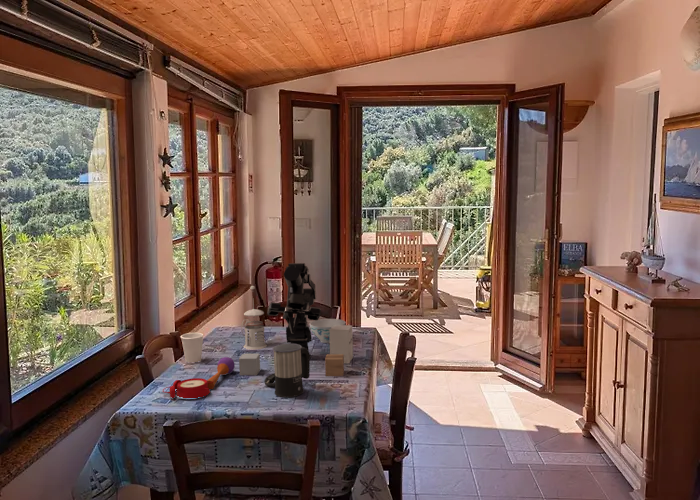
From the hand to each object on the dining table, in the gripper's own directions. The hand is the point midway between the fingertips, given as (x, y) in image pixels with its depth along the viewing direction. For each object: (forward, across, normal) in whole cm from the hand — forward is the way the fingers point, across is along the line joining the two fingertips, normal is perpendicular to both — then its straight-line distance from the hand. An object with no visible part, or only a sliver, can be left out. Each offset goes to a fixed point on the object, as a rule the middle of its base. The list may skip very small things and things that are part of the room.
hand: (292, 333), depth 217 cm
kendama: (+18, -23, +6) cm, 30 cm away
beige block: (+13, -13, +9) cm, 20 cm away
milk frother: (+24, -3, -9) cm, 26 cm away
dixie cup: (+4, -33, +27) cm, 43 cm away
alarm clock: (+26, -33, -3) cm, 42 cm away
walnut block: (+14, +15, -2) cm, 21 cm away
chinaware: (-12, +20, +33) cm, 40 cm away
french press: (-8, -10, +36) cm, 38 cm away
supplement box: (+5, +20, +10) cm, 23 cm away
